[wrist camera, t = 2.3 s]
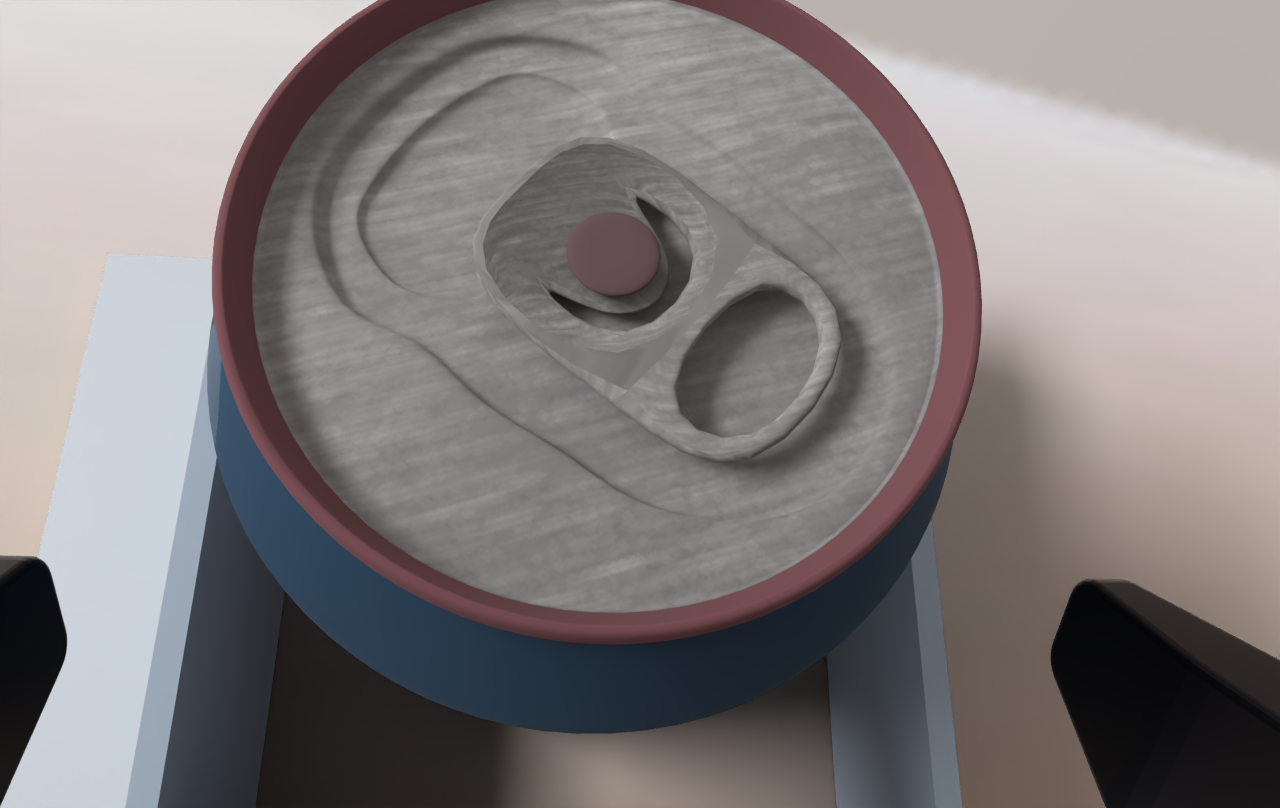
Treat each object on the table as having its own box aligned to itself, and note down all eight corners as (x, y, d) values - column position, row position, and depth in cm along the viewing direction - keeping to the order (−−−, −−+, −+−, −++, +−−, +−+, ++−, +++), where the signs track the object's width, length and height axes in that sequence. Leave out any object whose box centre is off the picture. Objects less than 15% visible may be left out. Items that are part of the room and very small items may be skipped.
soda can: (311, 563, 17) (-122, 278, 6) (544, 318, 19) (556, -232, 8) (588, 802, 16) (710, 1010, 5) (797, 516, 18) (1207, 212, 7)
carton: (878, 1107, 15) (1011, 1260, 11) (-88, 1150, 14) (-371, 1350, 9) (820, 298, 20) (895, 189, 16) (114, 260, 19) (-10, 127, 14)
